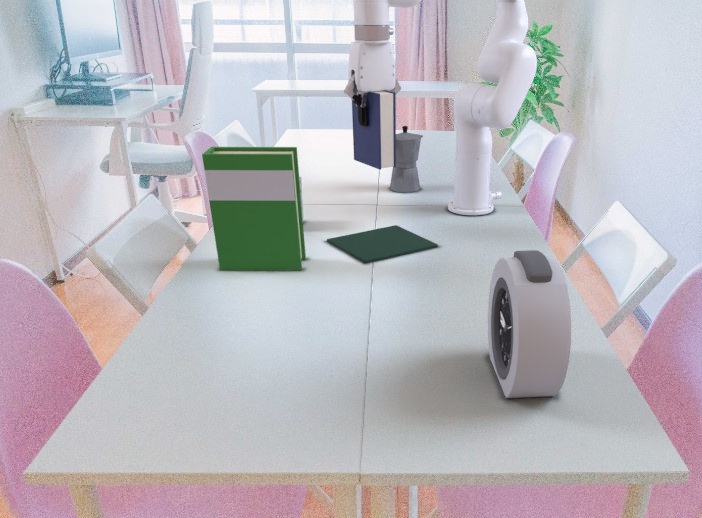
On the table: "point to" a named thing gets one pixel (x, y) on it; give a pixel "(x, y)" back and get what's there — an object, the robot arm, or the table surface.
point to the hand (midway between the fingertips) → (373, 123)
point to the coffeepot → (406, 163)
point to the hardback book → (255, 207)
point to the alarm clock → (529, 325)
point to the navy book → (376, 131)
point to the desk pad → (381, 243)
